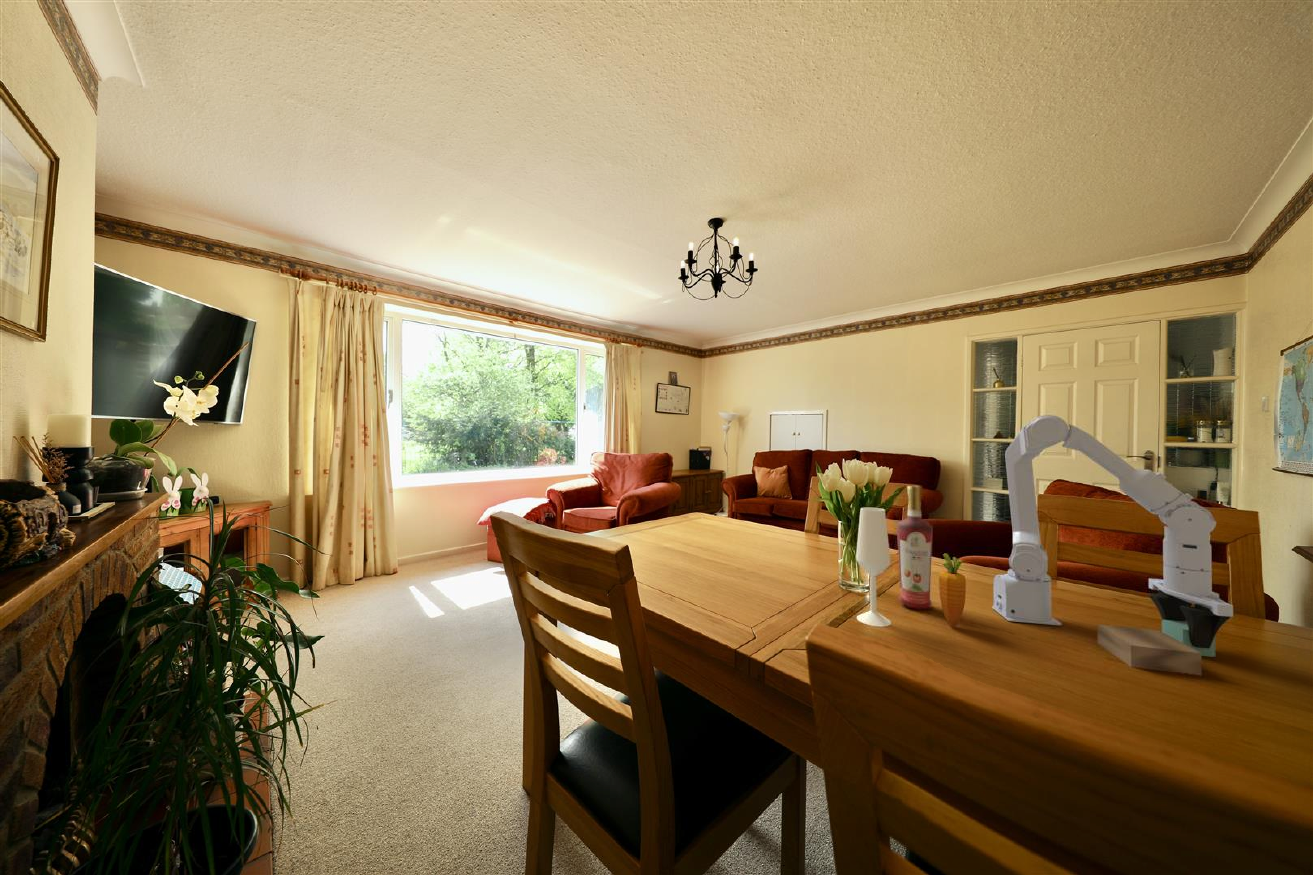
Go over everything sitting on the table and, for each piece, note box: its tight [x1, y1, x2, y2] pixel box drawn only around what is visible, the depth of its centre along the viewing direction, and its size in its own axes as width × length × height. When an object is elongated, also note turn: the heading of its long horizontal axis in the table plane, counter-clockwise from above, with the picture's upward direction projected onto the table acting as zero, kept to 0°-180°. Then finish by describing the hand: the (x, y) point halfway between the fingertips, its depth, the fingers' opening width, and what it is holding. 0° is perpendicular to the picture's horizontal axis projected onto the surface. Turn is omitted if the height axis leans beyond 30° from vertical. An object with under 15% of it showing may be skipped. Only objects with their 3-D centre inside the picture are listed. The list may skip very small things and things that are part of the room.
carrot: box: [938, 553, 967, 629], centre depth 91 cm, size 5×5×15 cm
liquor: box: [896, 485, 934, 611], centre depth 103 cm, size 7×7×28 cm
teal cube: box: [1161, 619, 1216, 658], centre depth 81 cm, size 4×4×4 cm
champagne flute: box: [855, 506, 892, 628], centre depth 95 cm, size 7×7×24 cm
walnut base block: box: [1097, 624, 1203, 676], centre depth 78 cm, size 9×9×4 cm
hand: (1187, 640), depth 81 cm, fingers open, 5 cm apart
